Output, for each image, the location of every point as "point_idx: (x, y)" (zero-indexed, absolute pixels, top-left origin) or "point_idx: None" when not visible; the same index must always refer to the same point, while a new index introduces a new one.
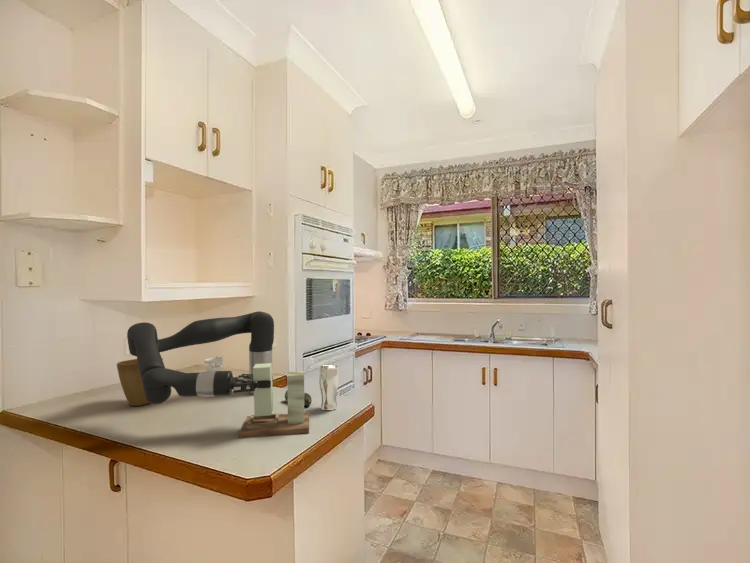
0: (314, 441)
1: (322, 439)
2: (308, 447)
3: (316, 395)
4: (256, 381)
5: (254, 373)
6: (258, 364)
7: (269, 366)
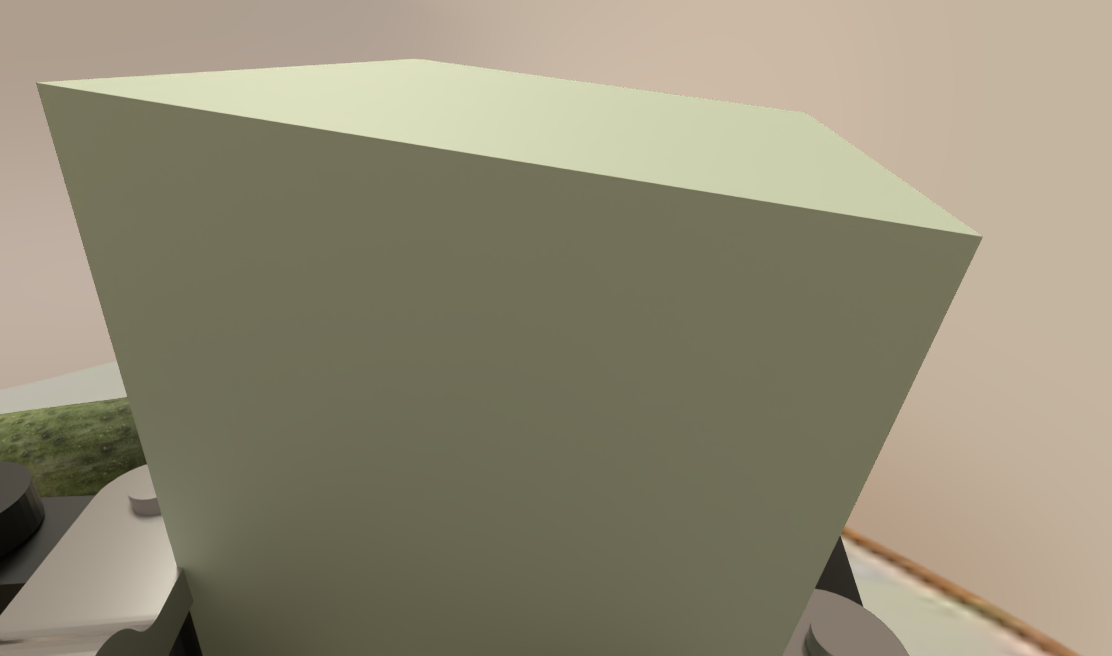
0: (881, 571)
1: (845, 529)
2: (990, 623)
3: (53, 388)
4: (890, 634)
5: (832, 468)
6: (282, 89)
7: (732, 105)
